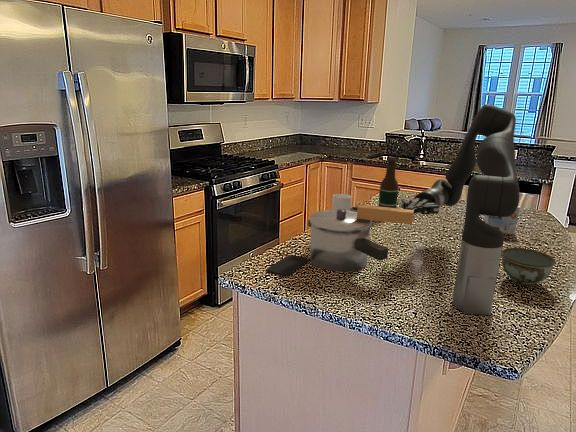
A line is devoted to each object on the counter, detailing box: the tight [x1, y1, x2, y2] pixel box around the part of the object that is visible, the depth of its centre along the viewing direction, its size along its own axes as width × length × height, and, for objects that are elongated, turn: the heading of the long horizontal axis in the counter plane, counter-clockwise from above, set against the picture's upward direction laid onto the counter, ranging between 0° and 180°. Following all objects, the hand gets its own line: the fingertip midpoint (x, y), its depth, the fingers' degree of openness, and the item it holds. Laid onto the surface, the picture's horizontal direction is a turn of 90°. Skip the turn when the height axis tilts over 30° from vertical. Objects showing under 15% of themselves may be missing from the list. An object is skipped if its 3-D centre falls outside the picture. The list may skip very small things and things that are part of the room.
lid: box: [309, 204, 414, 233], centre depth 129 cm, size 30×19×6 cm, turn 73°
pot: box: [307, 219, 389, 273], centre depth 131 cm, size 32×18×12 cm, turn 33°
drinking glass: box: [331, 193, 352, 211], centre depth 156 cm, size 7×7×15 cm
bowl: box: [501, 247, 556, 287], centre depth 122 cm, size 14×13×8 cm
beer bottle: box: [377, 158, 399, 208], centre depth 185 cm, size 8×8×24 cm
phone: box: [266, 254, 310, 277], centre depth 130 cm, size 7×1×15 cm
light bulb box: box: [483, 206, 520, 235], centre depth 167 cm, size 11×7×11 cm, turn 76°
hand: (408, 211), depth 129 cm, fingers closed
